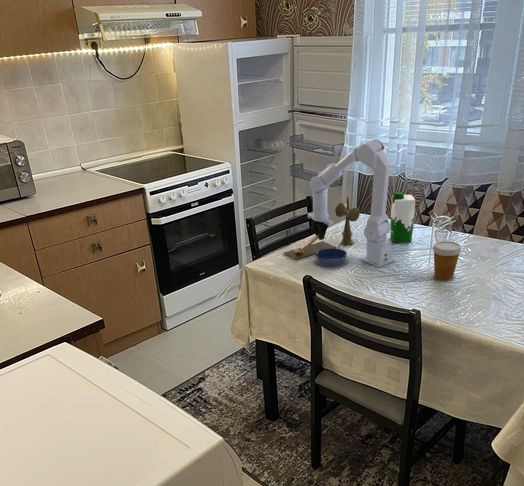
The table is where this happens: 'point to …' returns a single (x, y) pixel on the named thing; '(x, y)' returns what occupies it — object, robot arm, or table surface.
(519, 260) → the table surface
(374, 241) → the robot arm
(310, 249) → the board
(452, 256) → the disposable coffee cup
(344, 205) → the kendama
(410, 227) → the milk carton
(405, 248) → the table surface
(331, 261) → the bowl
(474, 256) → the table surface
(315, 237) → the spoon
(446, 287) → the table surface
